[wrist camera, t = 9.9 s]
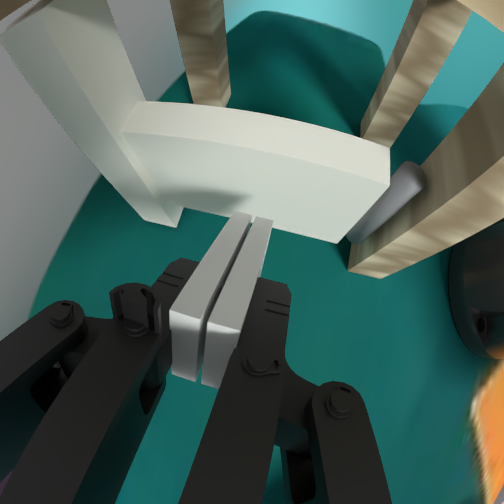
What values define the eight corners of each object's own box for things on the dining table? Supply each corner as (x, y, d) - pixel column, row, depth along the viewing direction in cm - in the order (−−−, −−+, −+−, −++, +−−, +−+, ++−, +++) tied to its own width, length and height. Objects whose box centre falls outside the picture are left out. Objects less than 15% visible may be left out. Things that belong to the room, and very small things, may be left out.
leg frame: (350, 233, 22) (509, 41, 3) (345, 269, 21) (549, 100, 2) (157, 188, 23) (46, -6, 4) (144, 220, 22) (-4, 36, 4)
